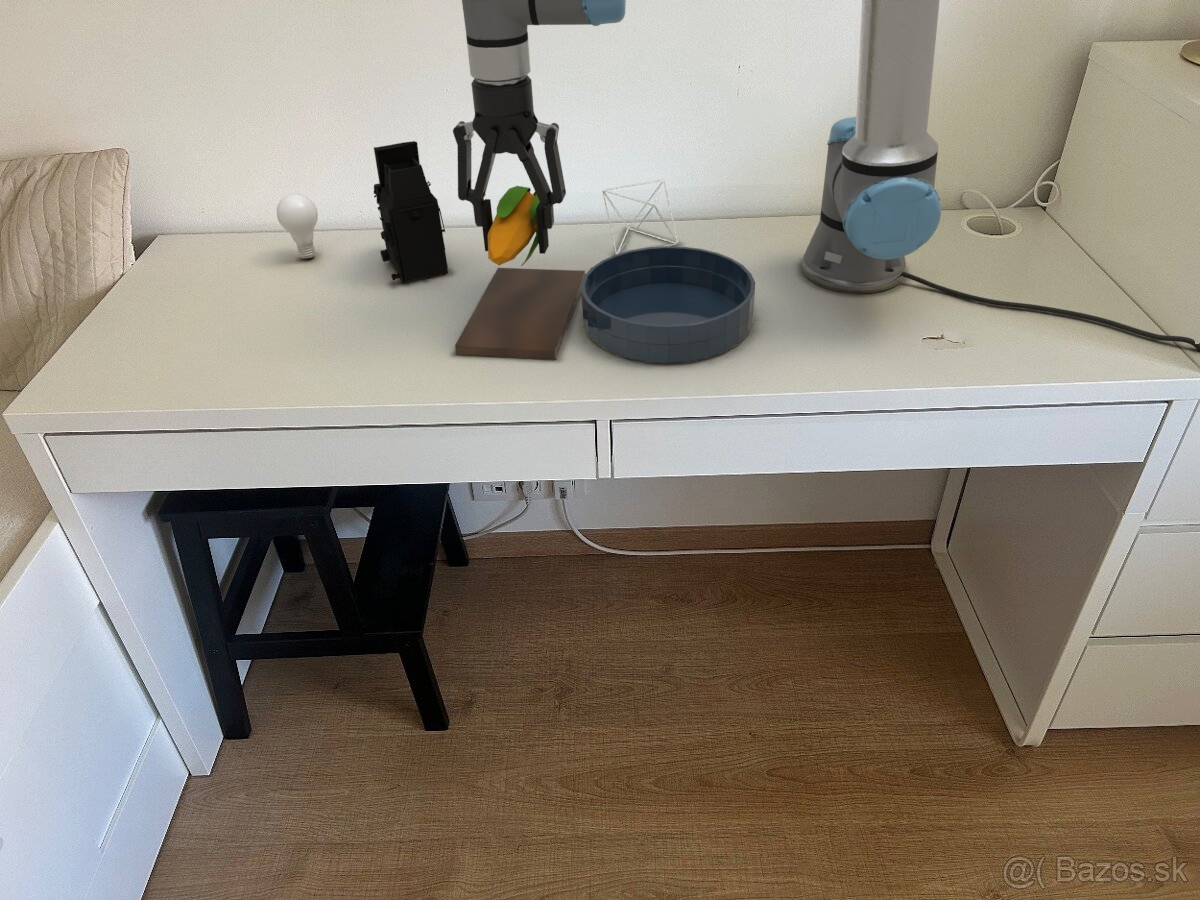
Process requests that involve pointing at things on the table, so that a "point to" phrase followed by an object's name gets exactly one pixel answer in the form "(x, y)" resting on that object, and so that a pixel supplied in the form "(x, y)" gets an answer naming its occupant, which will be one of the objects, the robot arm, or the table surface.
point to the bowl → (667, 304)
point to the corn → (513, 225)
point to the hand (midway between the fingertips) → (517, 248)
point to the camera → (408, 214)
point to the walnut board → (522, 314)
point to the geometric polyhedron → (639, 213)
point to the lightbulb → (299, 221)
